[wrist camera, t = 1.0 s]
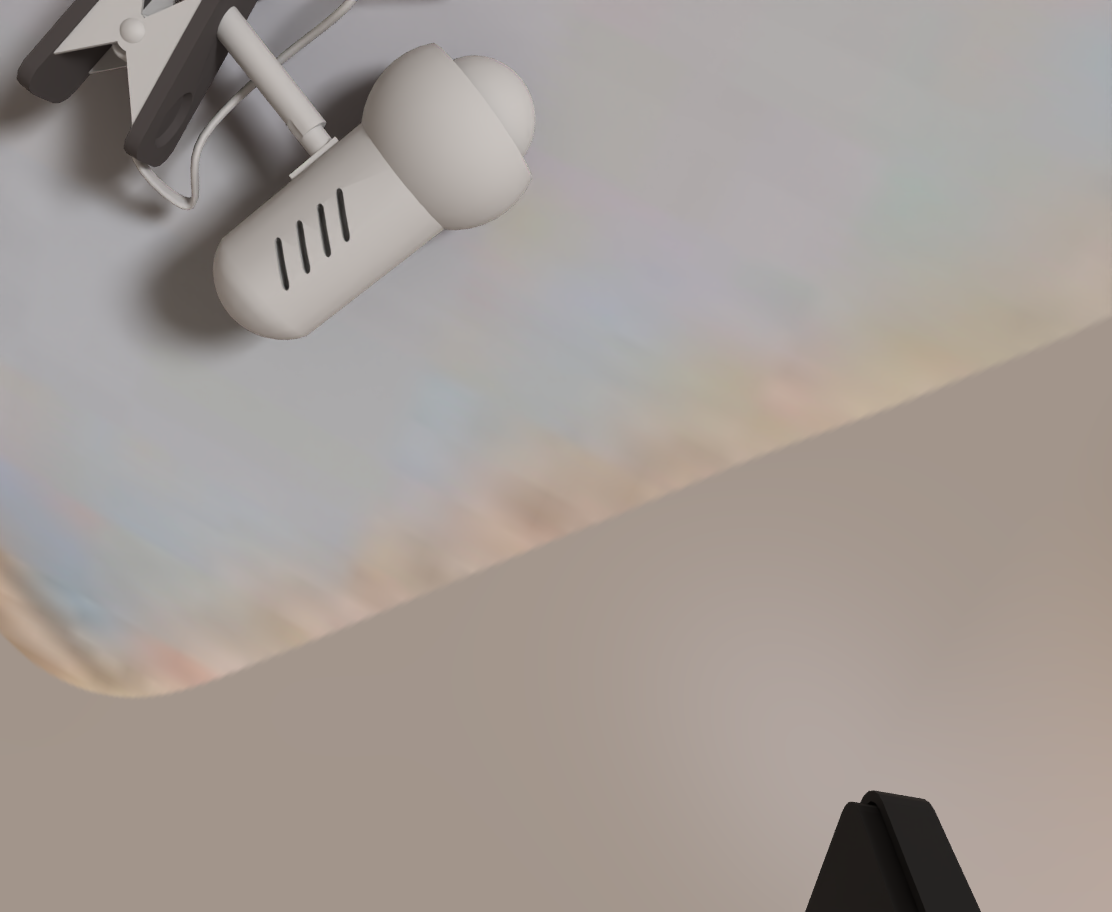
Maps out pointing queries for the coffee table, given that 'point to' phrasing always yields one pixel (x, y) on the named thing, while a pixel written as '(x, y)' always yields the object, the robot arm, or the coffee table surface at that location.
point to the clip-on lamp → (334, 166)
